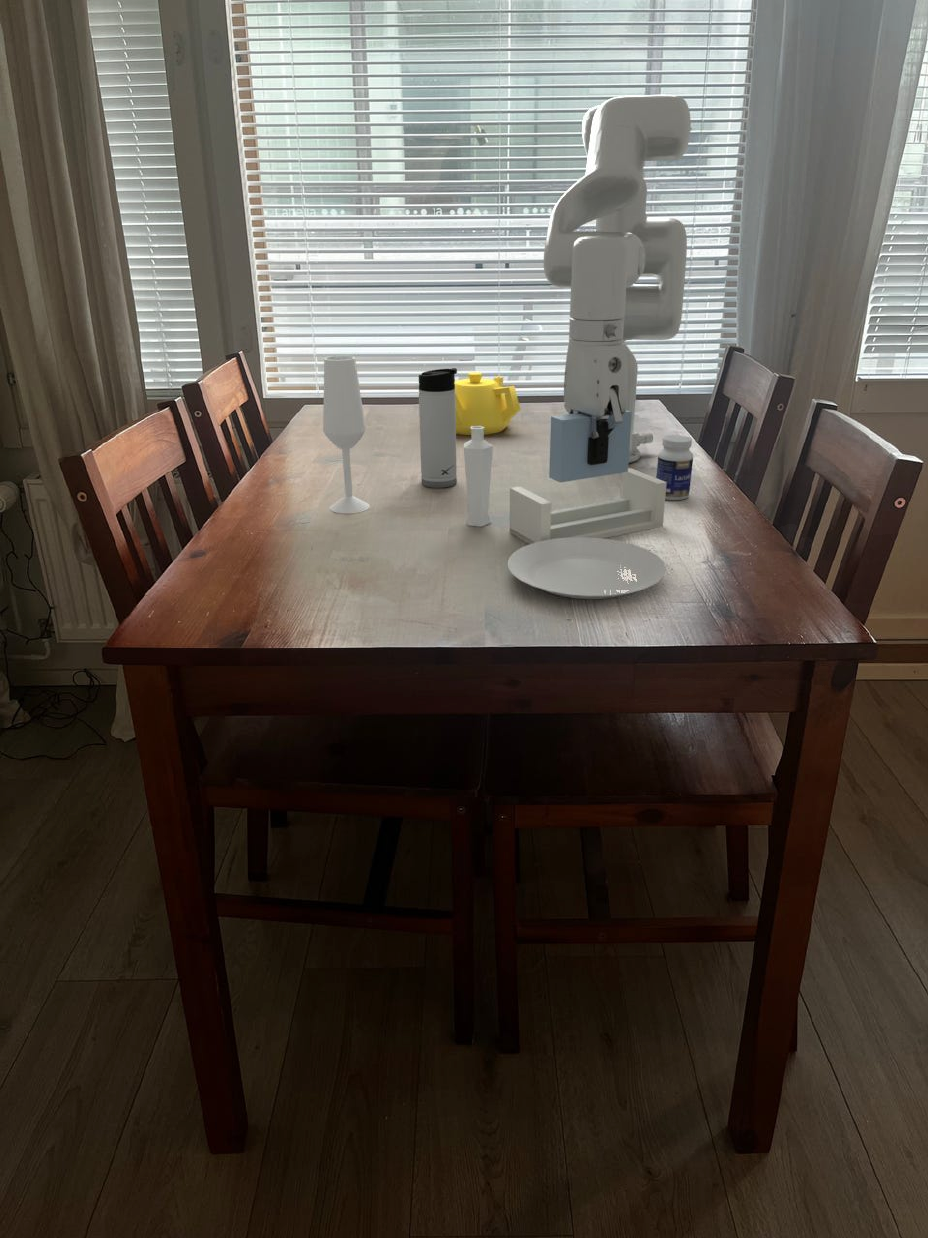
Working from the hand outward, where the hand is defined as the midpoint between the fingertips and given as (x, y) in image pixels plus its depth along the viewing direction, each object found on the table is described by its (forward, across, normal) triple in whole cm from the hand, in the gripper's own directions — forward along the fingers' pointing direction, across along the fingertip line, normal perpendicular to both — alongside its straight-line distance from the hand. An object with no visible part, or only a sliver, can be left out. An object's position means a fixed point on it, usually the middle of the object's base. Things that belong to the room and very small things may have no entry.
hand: (589, 459), depth 134 cm
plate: (+12, -16, +11) cm, 22 cm away
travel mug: (+11, +33, +9) cm, 36 cm away
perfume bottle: (+11, +11, +13) cm, 20 cm away
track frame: (+11, 0, 0) cm, 11 cm away
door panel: (+2, 0, 0) cm, 2 cm away
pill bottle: (+11, +7, -22) cm, 26 cm away
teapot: (+11, +67, -16) cm, 70 cm away
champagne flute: (+11, +28, +28) cm, 41 cm away
